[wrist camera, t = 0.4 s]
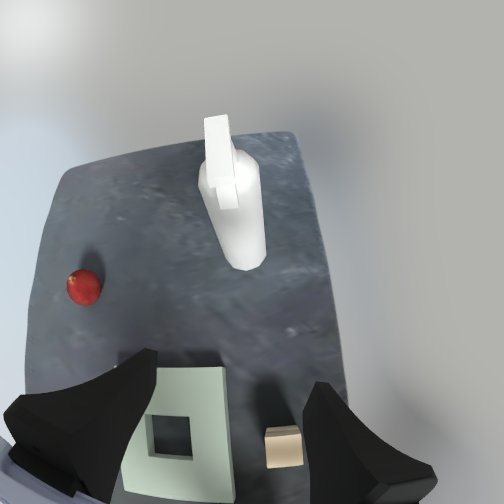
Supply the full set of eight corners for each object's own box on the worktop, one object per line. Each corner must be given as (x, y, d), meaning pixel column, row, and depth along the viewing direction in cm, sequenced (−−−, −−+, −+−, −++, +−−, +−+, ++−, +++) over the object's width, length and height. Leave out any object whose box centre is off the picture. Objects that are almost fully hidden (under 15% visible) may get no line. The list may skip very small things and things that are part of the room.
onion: (82, 313, 42) (54, 299, 35) (83, 282, 45) (56, 264, 37) (109, 308, 42) (82, 293, 35) (109, 276, 45) (84, 256, 37)
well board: (236, 496, 29) (233, 503, 26) (132, 486, 29) (124, 490, 27) (225, 367, 37) (221, 366, 35) (122, 367, 38) (114, 365, 36)
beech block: (298, 451, 31) (303, 464, 25) (268, 453, 31) (267, 468, 25) (296, 424, 33) (300, 433, 27) (266, 427, 33) (264, 437, 27)
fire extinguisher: (263, 209, 47) (246, 79, 25) (272, 278, 43) (259, 167, 20) (223, 214, 48) (179, 91, 25) (227, 284, 43) (168, 182, 20)
